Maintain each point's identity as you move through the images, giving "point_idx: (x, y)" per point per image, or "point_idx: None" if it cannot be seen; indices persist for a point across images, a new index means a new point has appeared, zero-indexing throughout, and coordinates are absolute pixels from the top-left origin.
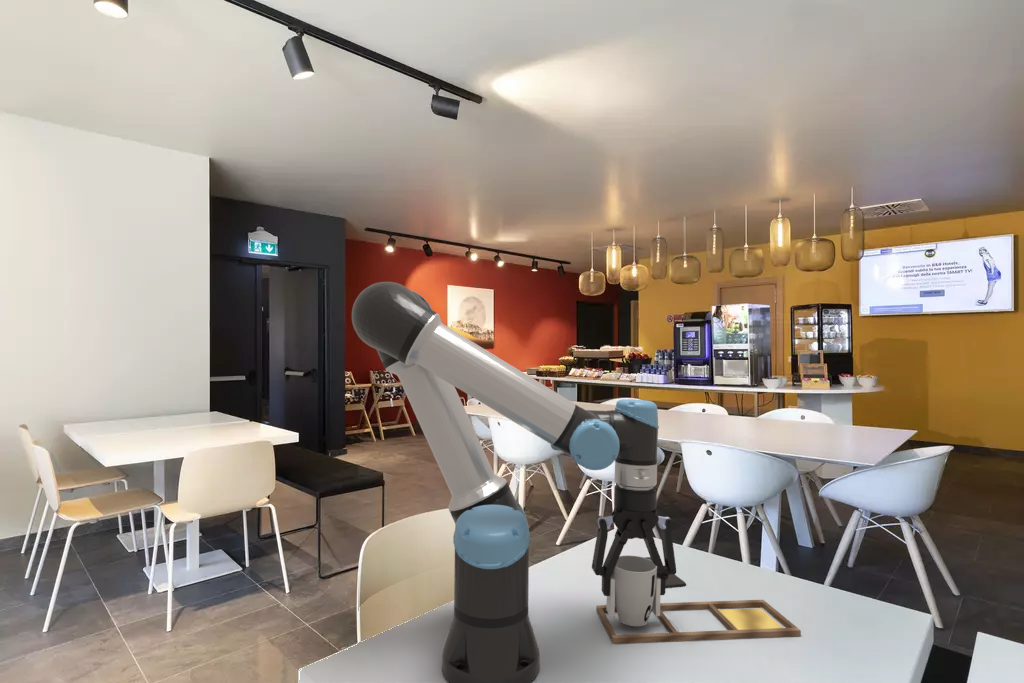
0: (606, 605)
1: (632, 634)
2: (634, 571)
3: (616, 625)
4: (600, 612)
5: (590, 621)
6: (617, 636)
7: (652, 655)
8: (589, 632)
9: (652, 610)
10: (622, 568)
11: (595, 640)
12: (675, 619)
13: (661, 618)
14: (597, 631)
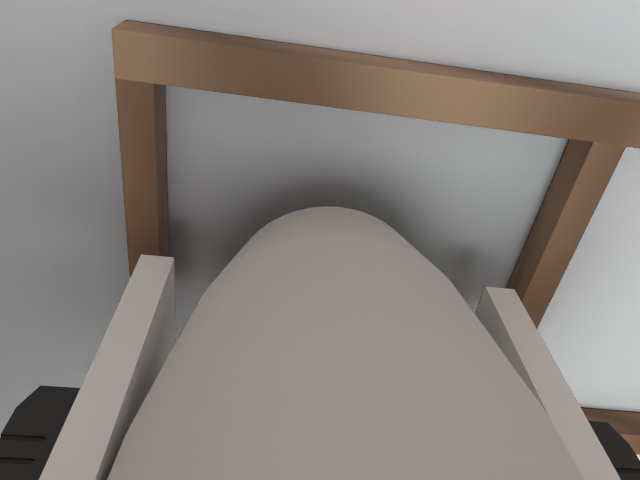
0: (131, 276)
1: None
2: (491, 436)
3: (221, 246)
4: (124, 157)
5: (54, 170)
6: None
7: None
8: (34, 285)
9: (477, 316)
10: (308, 462)
11: (60, 352)
12: (625, 250)
13: (523, 279)
14: (85, 284)
